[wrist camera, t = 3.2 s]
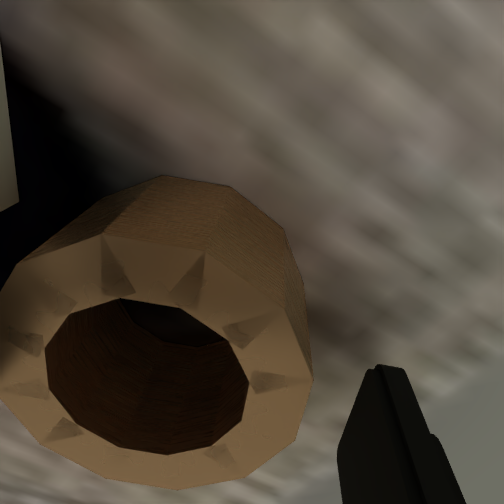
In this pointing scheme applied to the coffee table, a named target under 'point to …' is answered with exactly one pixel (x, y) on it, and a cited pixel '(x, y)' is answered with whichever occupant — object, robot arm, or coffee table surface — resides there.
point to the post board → (6, 151)
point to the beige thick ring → (152, 348)
